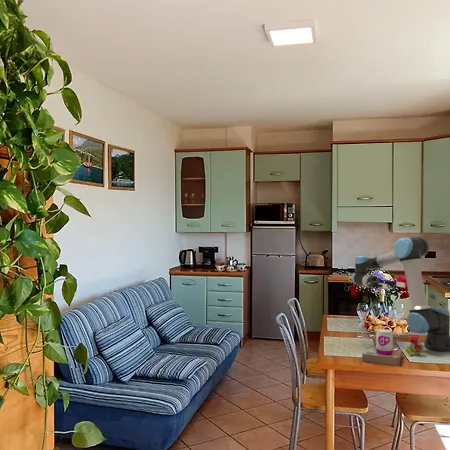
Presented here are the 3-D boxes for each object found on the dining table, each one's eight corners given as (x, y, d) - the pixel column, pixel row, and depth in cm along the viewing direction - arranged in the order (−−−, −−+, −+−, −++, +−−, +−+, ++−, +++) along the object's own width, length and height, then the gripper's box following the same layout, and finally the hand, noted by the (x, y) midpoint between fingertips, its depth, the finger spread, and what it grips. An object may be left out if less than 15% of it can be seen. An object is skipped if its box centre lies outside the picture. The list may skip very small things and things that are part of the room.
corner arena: (401, 356, 242) (401, 349, 242) (399, 366, 226) (399, 358, 226) (367, 352, 250) (367, 345, 250) (362, 361, 234) (362, 353, 234)
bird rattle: (416, 356, 248) (401, 350, 248) (424, 338, 248) (409, 332, 248) (420, 360, 242) (405, 353, 242) (429, 341, 242) (413, 335, 242)
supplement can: (391, 362, 231) (391, 333, 231) (374, 359, 235) (374, 331, 235) (394, 358, 238) (394, 329, 238) (378, 355, 242) (378, 328, 242)
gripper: (386, 286, 288) (412, 290, 268) (355, 288, 279) (379, 293, 259) (386, 274, 288) (412, 278, 268) (355, 276, 278) (379, 280, 259)
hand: (396, 286), depth 264 cm, fingers open, 13 cm apart
